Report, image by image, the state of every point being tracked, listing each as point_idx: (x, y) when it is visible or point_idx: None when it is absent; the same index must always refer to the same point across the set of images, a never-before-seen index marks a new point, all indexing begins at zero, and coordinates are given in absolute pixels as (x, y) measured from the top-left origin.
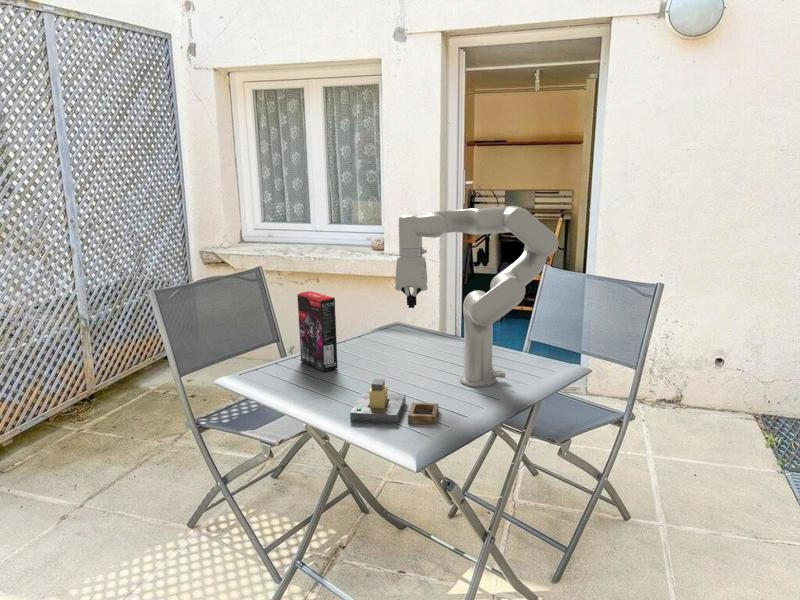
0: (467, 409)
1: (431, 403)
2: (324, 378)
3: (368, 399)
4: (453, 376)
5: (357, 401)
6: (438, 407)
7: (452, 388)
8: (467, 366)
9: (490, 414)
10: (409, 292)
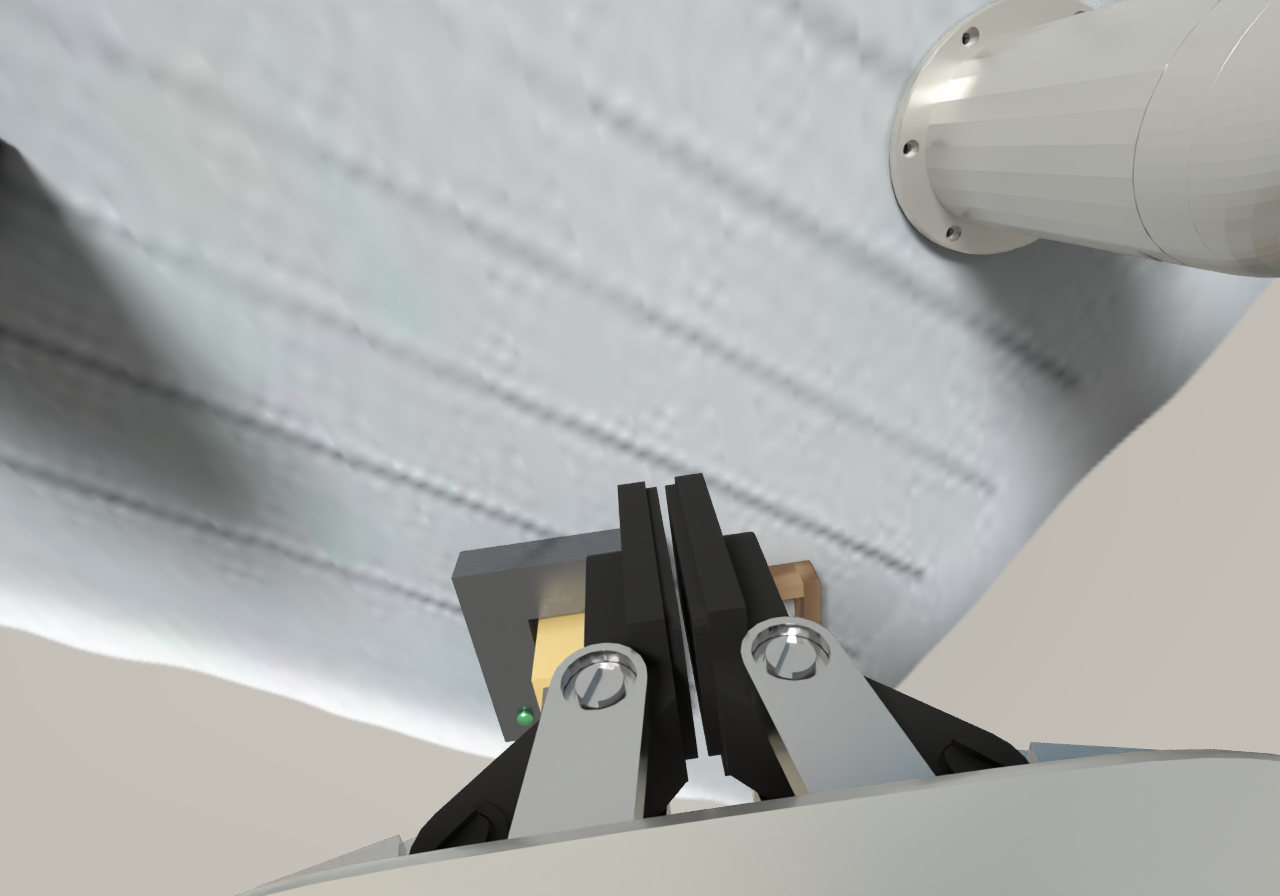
0: (926, 516)
1: (790, 587)
2: (70, 333)
3: (518, 634)
4: (844, 88)
5: (482, 661)
6: (814, 573)
7: (850, 299)
8: (995, 215)
9: (1015, 535)
10: (649, 758)
